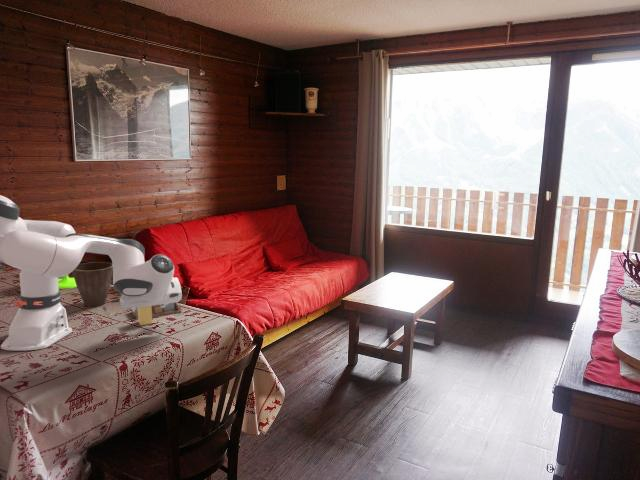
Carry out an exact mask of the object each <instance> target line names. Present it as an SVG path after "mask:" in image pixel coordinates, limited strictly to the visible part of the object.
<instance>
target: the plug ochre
mask: <svg viewBox="0 0 640 480" xmlns="http://www.w3.org/2000/svg"><path fill="white" fill-rule="evenodd" d="M137 323H138V324H139V326H145V325H152V324H153V317H152V306H146V307H139V308H138V320H137Z"/></svg>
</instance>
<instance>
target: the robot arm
mask: <svg viewBox="0 0 640 480" xmlns="http://www.w3.org/2000/svg"><path fill="white" fill-rule="evenodd" d="M85 253H90V254H98V255H104V256H105V255H106V256H107V255H108V256H109V258H110V259H111V264H112V265H113V268H112V282H113V283H112V285H113V289H114V290H115V291H116V292H118V293H119V294H120V298H119V299H120V302H119V304H120V309H122V310H129V309H130V310H131V311H132V310H133V312H137V311H138V308H139V307H146V306H153V305H160V308H164V307H165V306H166V305H167V304H169V303H174V302H178V303H179V302H181V301H182V297H183V293H182V286H181V283H180V281H179V280H180V279H179V278H178V277H174V274H175V265H174V262H173V261H172V259H171V258H169V257H168V256H167V255H165V254H156V255H153V256H152V257H151V258H150V259H149V260H147V261H145V260H146V259H145V257H146V256H145V255H146V253H145V246H144V245H143V244H142V243H141V242H139V241H137V240H136V239H131V238H113V237H107V236H100V235H95V234H88V233H79V232H77V233H76V230H75V229H74V228H73V226H72V225H71V224H68V223H65V222H60V221H57V220H56V221H55V220H33V219H24V218H21V217H20V207H19V206H18V204H16V203H15V202H14V201H12V200H11V199H10V198H9V197H6V196H4V195H1V194H0V271H1V270H5V269H6V266H5V265H3V264H2V263H4V264H6V265H8V266H11V267H12V268H15V269H18V270H20V273H19V287H20V295H19V298H18V300H15V301H14V307H15V308H16V307H18V310H17V312H16V314H15V315H14V318H13V320H12V322H11V323H10V326H9V328H8V336H7V337H6V338H5V340H4V341H3V342H2V344H0V349H1V350H5V351H21V352H22V351H34V350H35V351H36V350H42V349H46V348H48V347H50V346H52V345H53V344H55V343H56V342H58V341H60V340H61V339H63V338H65V337H66V336H68V335H70V334H71V333H72V332H73V328H72V327H70V326H69V322H68V316H67V315H68V314H67V311H66V308H65V307H64V306H63V304H62V303H61V301H62V294H61V289H59V286H58V279H61V278H63V276H66V275H68V276H69V275H70V274H71V273H73V270H74V269H75V268H76V267H77V266H78V265H79V264H81V262H82V260H83V257H84V255H85Z"/></svg>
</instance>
